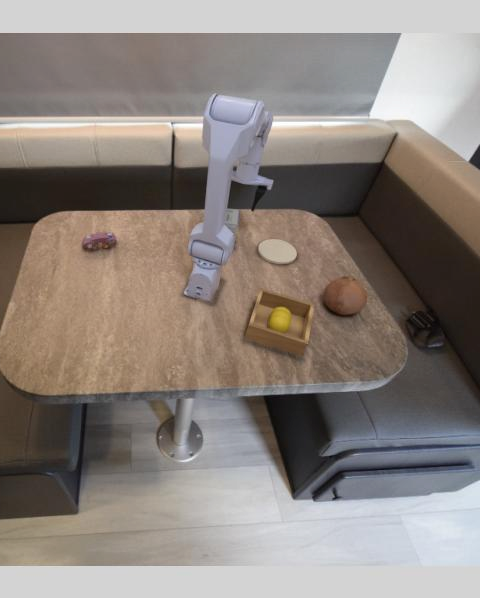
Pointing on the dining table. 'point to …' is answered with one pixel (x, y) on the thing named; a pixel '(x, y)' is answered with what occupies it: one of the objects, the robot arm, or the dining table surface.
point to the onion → (345, 296)
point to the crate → (299, 326)
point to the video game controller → (99, 240)
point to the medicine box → (232, 221)
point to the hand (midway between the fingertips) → (239, 206)
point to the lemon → (280, 319)
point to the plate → (277, 251)
